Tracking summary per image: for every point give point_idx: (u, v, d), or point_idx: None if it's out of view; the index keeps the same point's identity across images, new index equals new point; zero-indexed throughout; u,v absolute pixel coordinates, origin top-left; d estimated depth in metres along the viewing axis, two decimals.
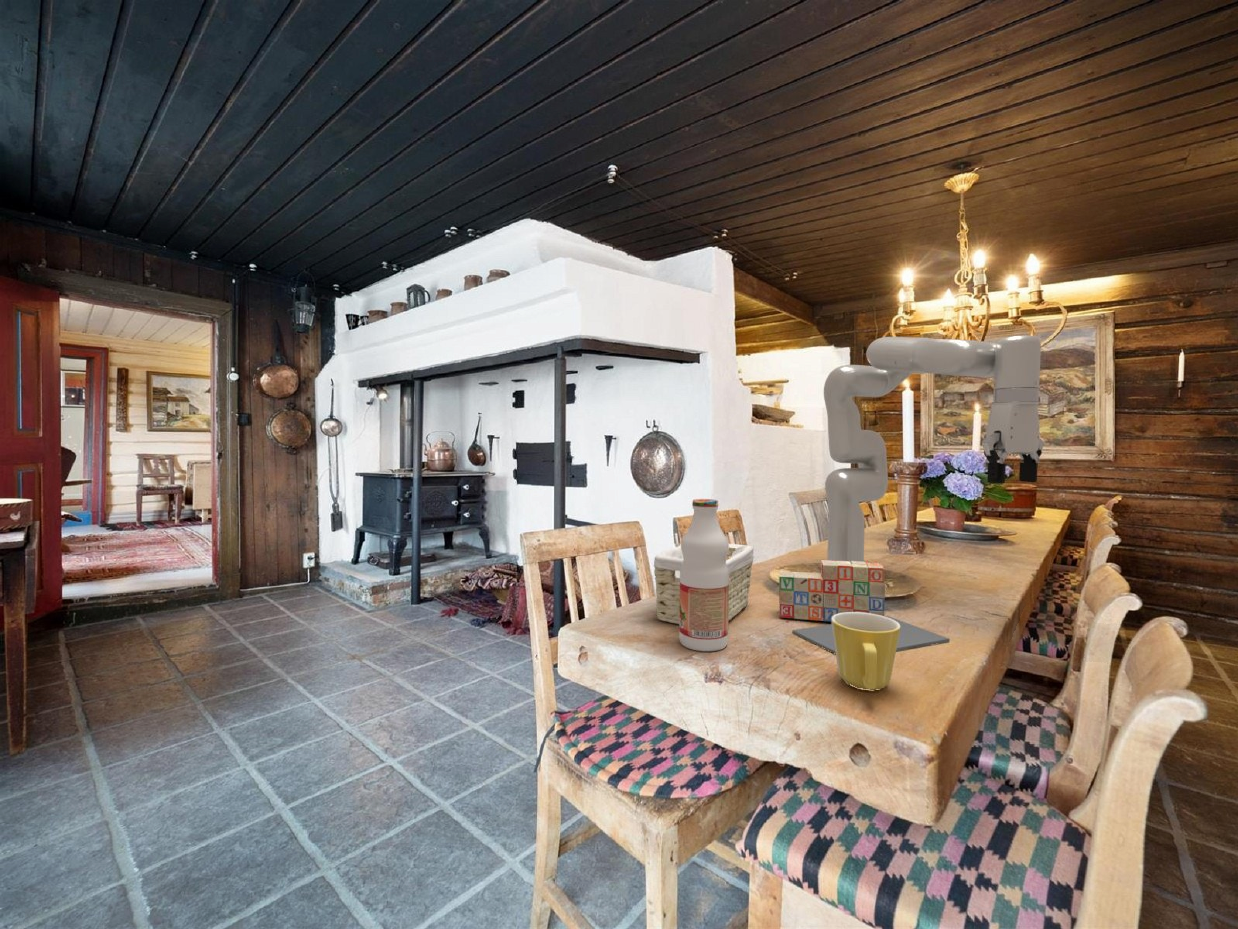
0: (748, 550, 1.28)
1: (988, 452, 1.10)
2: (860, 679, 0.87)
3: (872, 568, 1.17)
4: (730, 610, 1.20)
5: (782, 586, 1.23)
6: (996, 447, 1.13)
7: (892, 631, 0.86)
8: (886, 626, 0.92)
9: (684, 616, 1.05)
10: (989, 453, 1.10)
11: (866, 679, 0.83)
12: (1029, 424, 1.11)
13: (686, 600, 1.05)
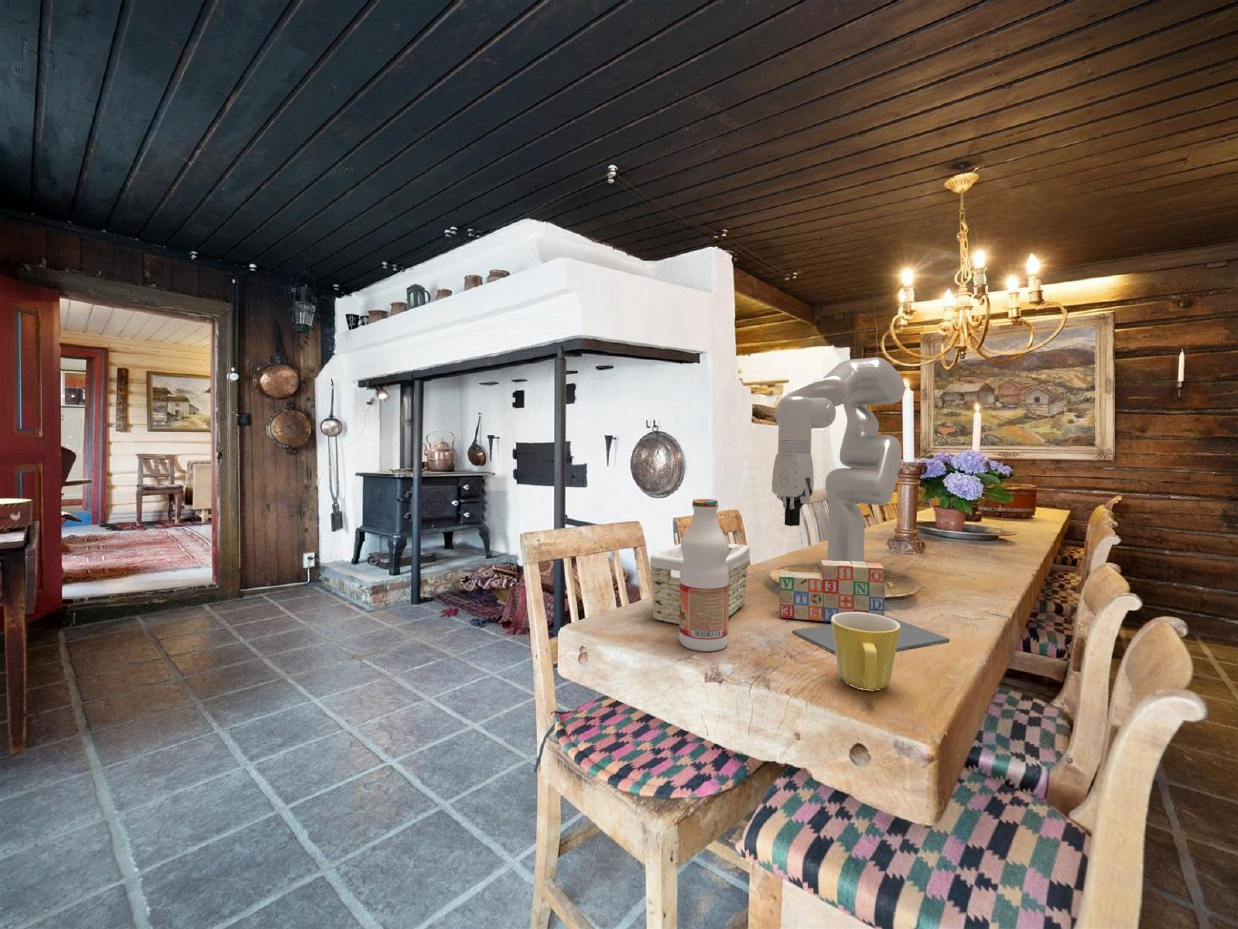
0: (744, 550, 1.28)
1: (802, 503, 1.30)
2: (860, 679, 0.87)
3: (872, 568, 1.17)
4: None
5: (782, 586, 1.23)
6: None
7: (892, 631, 0.86)
8: (886, 626, 0.92)
9: (684, 616, 1.05)
10: (802, 503, 1.30)
11: (866, 679, 0.83)
12: None
13: (686, 600, 1.05)
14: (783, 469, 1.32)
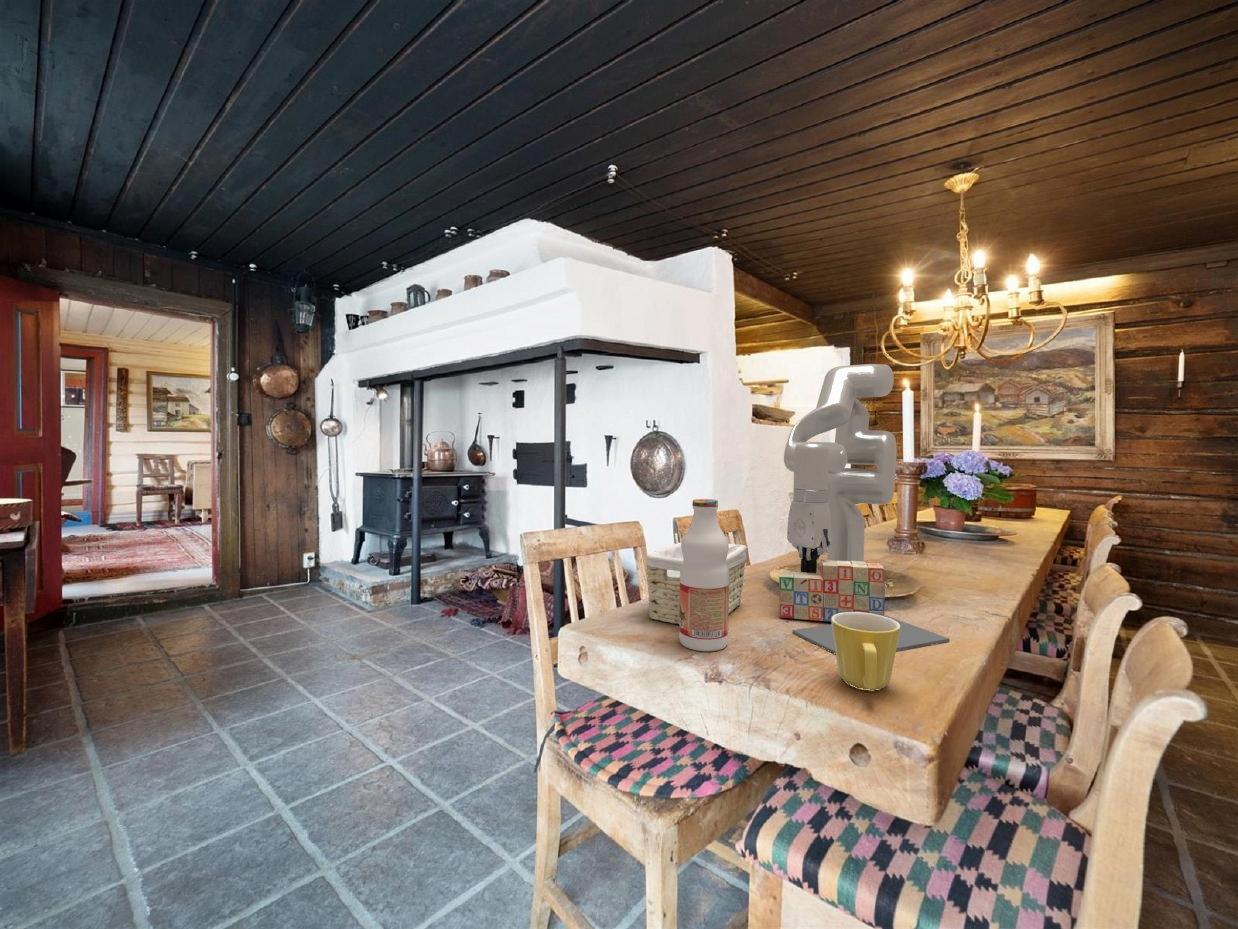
0: (741, 549, 1.28)
1: (819, 554, 1.25)
2: (860, 679, 0.87)
3: (872, 568, 1.17)
4: None
5: (782, 586, 1.22)
6: None
7: (892, 631, 0.86)
8: (886, 626, 0.92)
9: (684, 616, 1.05)
10: (819, 554, 1.25)
11: (866, 679, 0.83)
12: None
13: (686, 600, 1.05)
14: (799, 519, 1.27)
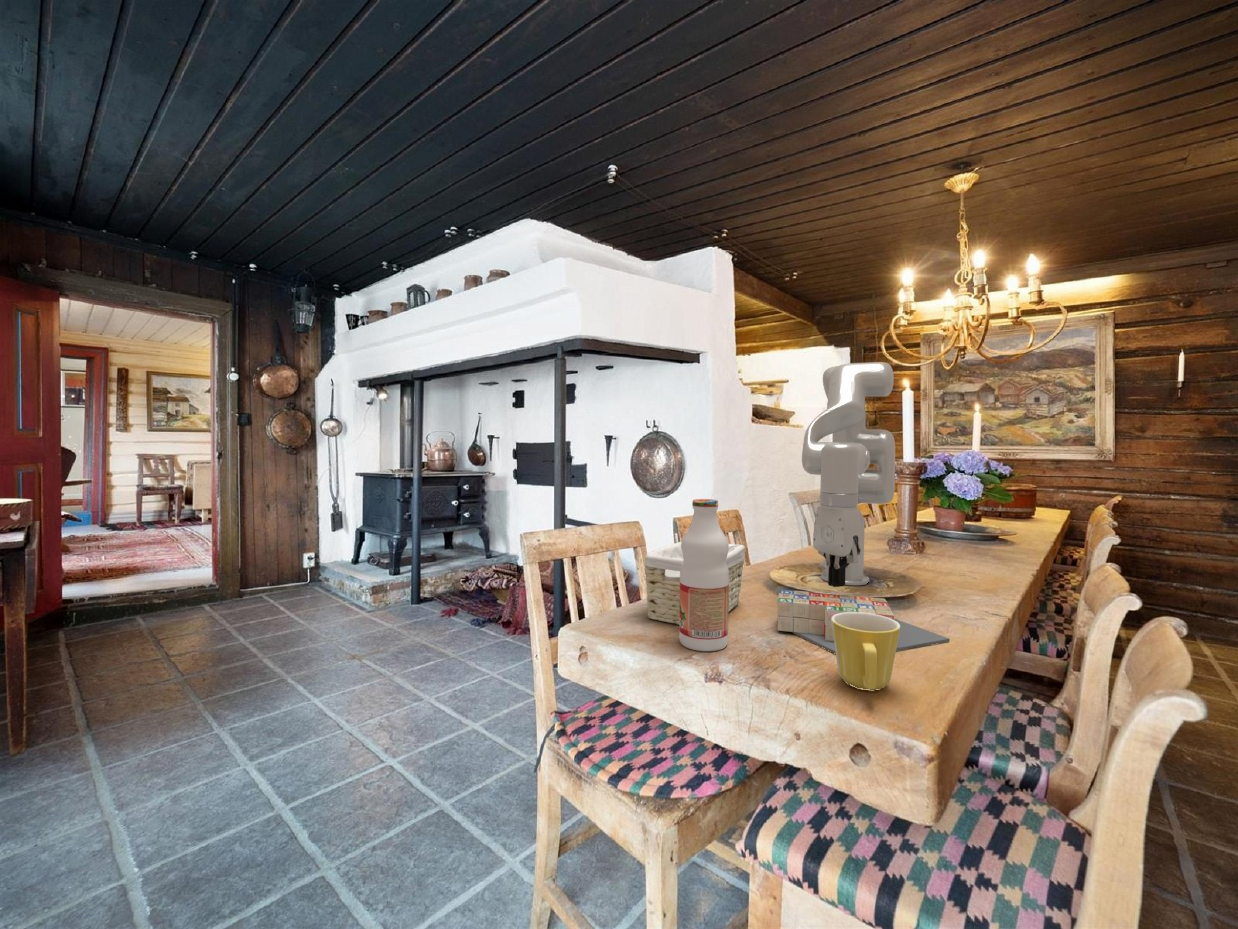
0: (739, 549, 1.29)
1: (849, 563, 1.17)
2: (860, 679, 0.87)
3: None
4: None
5: None
6: None
7: (892, 631, 0.86)
8: (886, 626, 0.92)
9: (684, 616, 1.05)
10: (848, 563, 1.17)
11: (866, 679, 0.83)
12: None
13: (686, 600, 1.05)
14: (827, 524, 1.19)
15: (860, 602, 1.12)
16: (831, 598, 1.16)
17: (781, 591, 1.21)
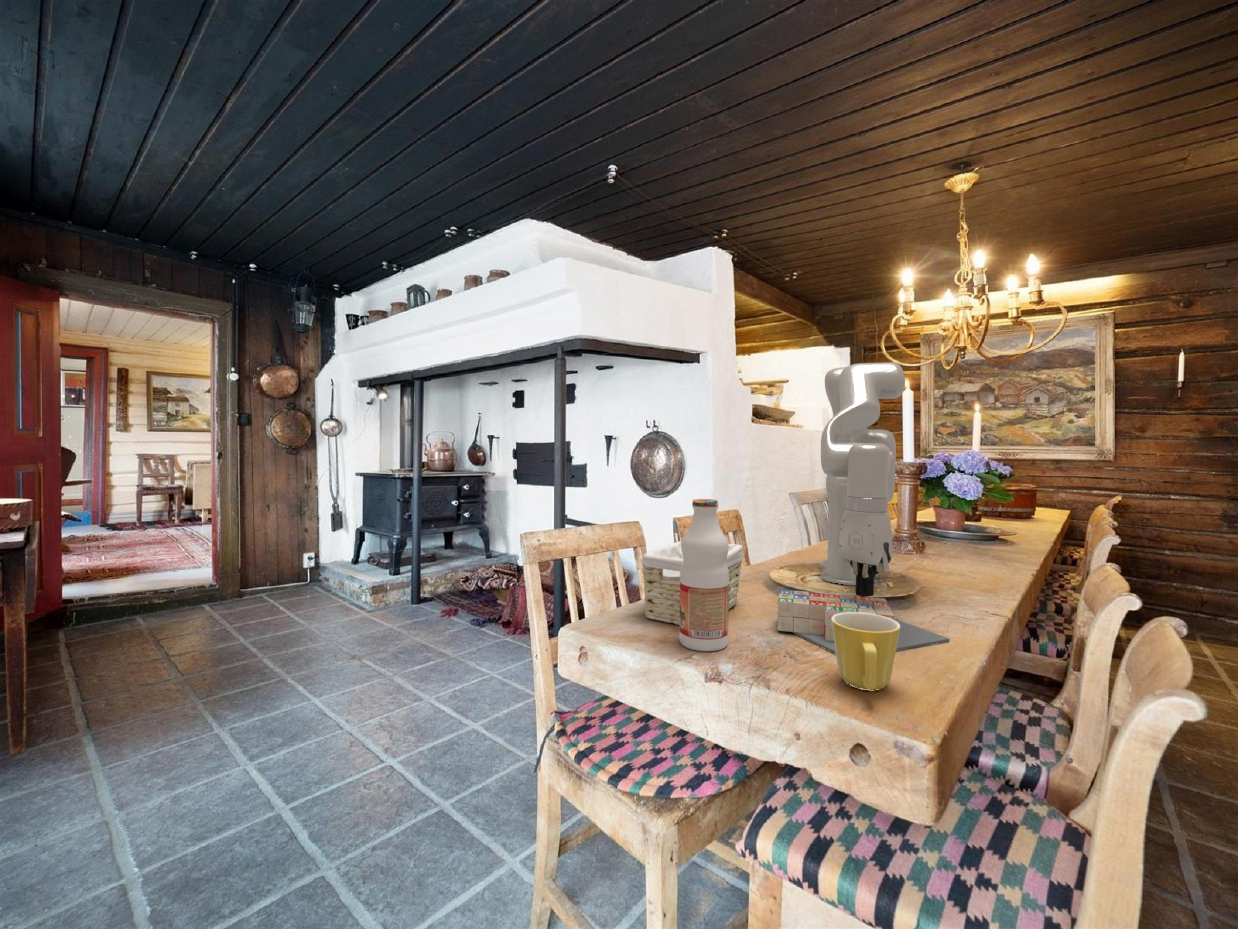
0: (737, 549, 1.29)
1: (878, 571, 1.10)
2: (860, 679, 0.87)
3: None
4: None
5: None
6: None
7: (892, 631, 0.86)
8: (886, 626, 0.92)
9: (684, 616, 1.05)
10: (878, 571, 1.10)
11: (866, 679, 0.83)
12: None
13: (686, 600, 1.05)
14: (854, 530, 1.11)
15: (860, 602, 1.12)
16: (831, 598, 1.15)
17: (781, 591, 1.21)
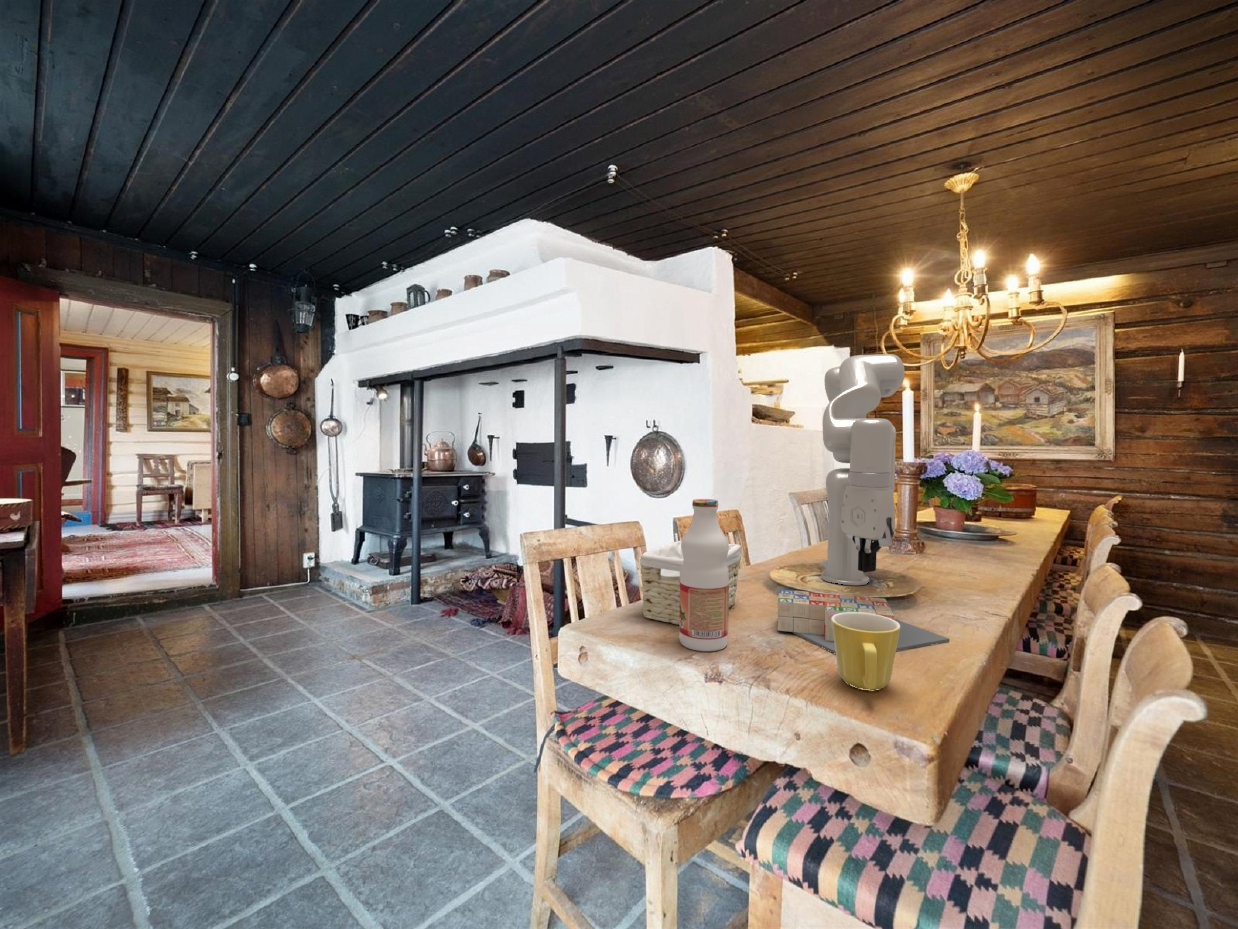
0: (735, 549, 1.29)
1: (881, 546, 1.09)
2: (860, 679, 0.87)
3: None
4: None
5: None
6: None
7: (892, 631, 0.86)
8: (886, 626, 0.92)
9: (684, 616, 1.05)
10: (880, 546, 1.10)
11: (866, 679, 0.83)
12: None
13: (686, 600, 1.05)
14: (857, 506, 1.11)
15: (860, 602, 1.12)
16: (831, 598, 1.15)
17: (781, 591, 1.21)
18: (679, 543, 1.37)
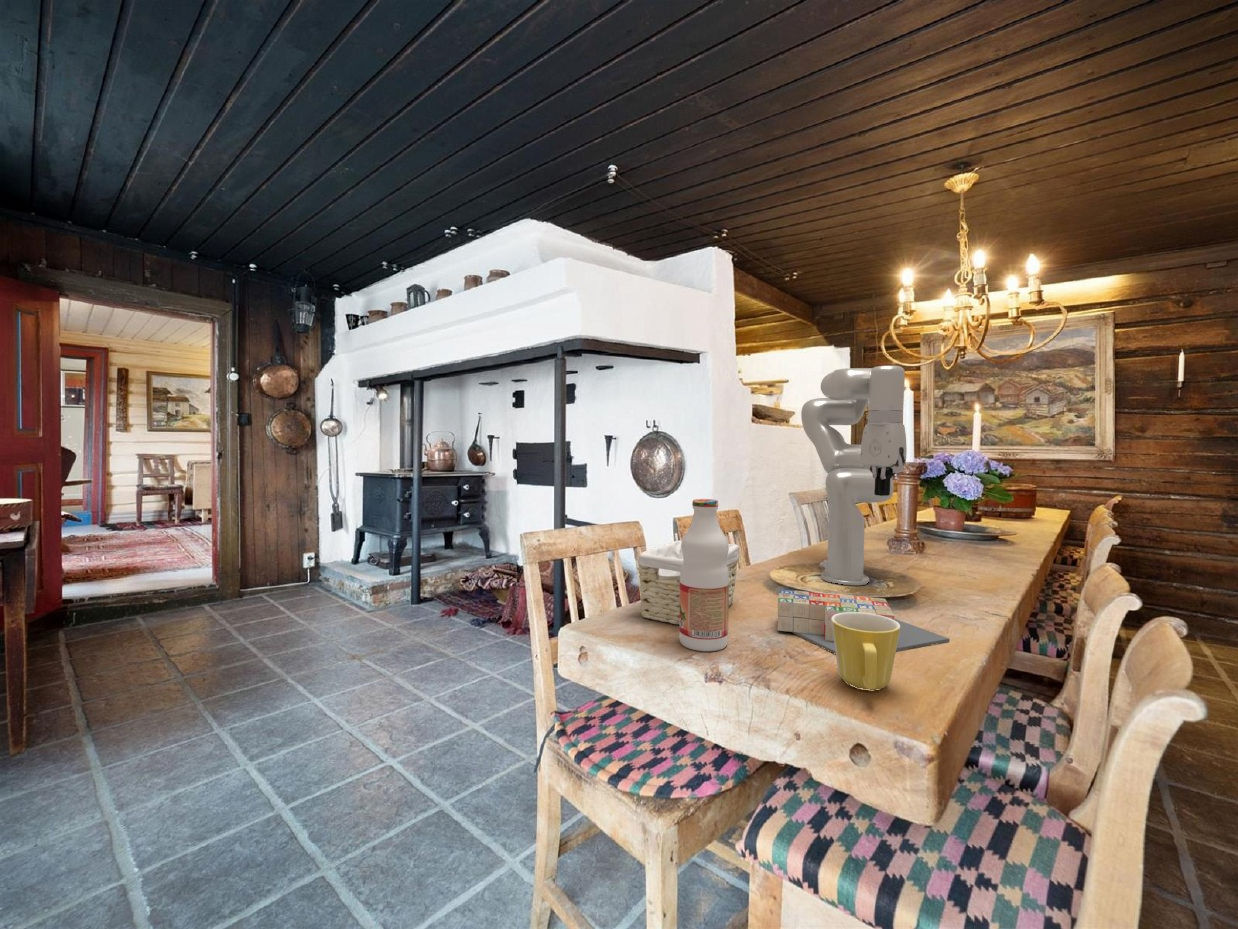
0: (733, 549, 1.29)
1: (894, 473, 1.30)
2: (860, 679, 0.87)
3: None
4: None
5: None
6: None
7: (892, 631, 0.86)
8: (886, 626, 0.92)
9: (684, 616, 1.05)
10: (894, 473, 1.30)
11: (866, 679, 0.83)
12: None
13: (686, 600, 1.05)
14: (874, 439, 1.32)
15: (860, 602, 1.12)
16: (831, 598, 1.15)
17: (781, 591, 1.21)
18: (677, 543, 1.38)
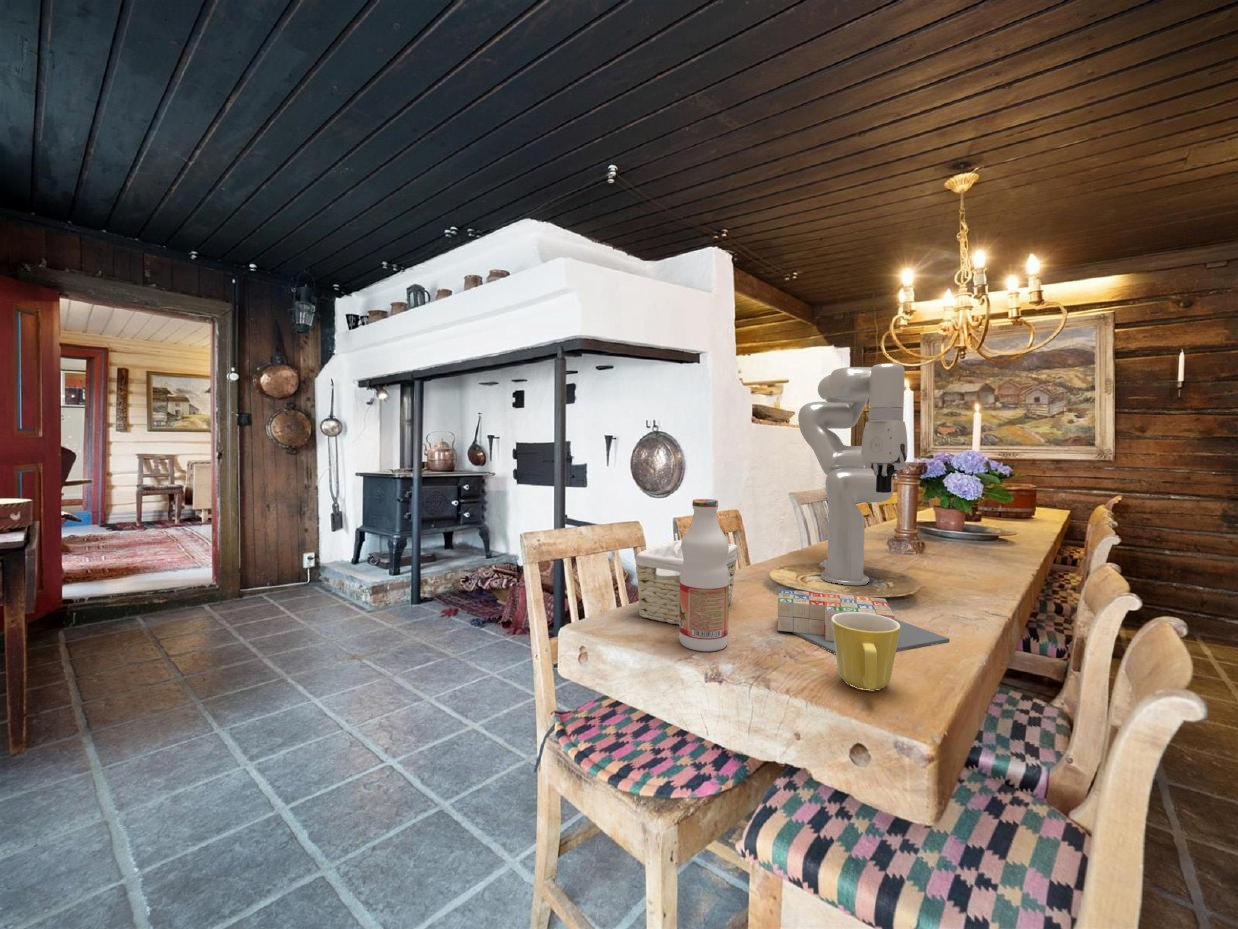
0: (731, 549, 1.29)
1: (895, 469, 1.31)
2: (860, 679, 0.87)
3: None
4: None
5: None
6: None
7: (892, 631, 0.86)
8: (886, 626, 0.92)
9: (684, 616, 1.05)
10: (895, 469, 1.31)
11: (866, 679, 0.83)
12: None
13: (686, 600, 1.05)
14: (875, 436, 1.33)
15: (860, 602, 1.12)
16: (831, 598, 1.15)
17: (781, 591, 1.21)
18: (676, 543, 1.38)
